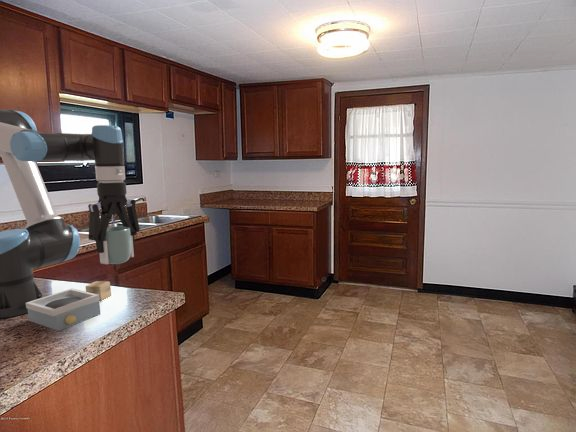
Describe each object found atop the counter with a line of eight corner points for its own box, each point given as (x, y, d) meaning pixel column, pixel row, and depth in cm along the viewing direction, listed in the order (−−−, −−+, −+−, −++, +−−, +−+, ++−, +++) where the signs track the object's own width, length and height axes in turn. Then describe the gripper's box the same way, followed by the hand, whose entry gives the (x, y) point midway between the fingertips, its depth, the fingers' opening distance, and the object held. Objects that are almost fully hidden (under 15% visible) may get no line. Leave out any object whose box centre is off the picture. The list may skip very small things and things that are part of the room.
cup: (121, 266, 108) (118, 231, 106) (97, 265, 110) (94, 230, 108) (137, 259, 116) (135, 226, 114) (114, 258, 117) (111, 225, 116)
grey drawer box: (27, 321, 106) (24, 302, 105) (72, 305, 117) (70, 288, 117) (59, 332, 99) (56, 312, 98) (104, 314, 110) (102, 295, 109)
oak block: (87, 301, 121) (85, 286, 120) (97, 295, 126) (95, 281, 125) (101, 302, 120) (100, 286, 119) (111, 296, 125) (109, 281, 124)
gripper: (85, 184, 98) (92, 270, 102) (149, 179, 116) (154, 253, 120) (67, 183, 102) (75, 267, 105) (132, 179, 120) (138, 250, 123)
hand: (117, 259), depth 112 cm, fingers closed on cup, 8 cm apart
